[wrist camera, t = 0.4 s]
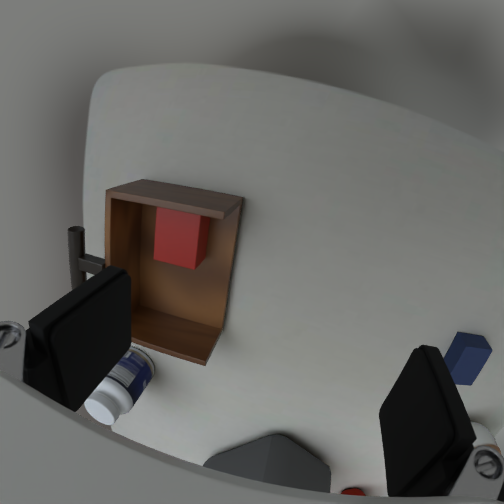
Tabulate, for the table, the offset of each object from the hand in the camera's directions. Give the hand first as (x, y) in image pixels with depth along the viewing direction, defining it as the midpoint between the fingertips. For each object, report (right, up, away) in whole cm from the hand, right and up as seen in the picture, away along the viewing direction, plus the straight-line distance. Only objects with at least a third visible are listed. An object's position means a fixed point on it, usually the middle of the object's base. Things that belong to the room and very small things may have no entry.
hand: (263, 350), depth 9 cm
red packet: (-6, +5, +19) cm, 21 cm away
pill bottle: (-15, -11, +28) cm, 33 cm away
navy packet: (+23, -8, +19) cm, 31 cm away
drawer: (-9, +3, +21) cm, 23 cm away
